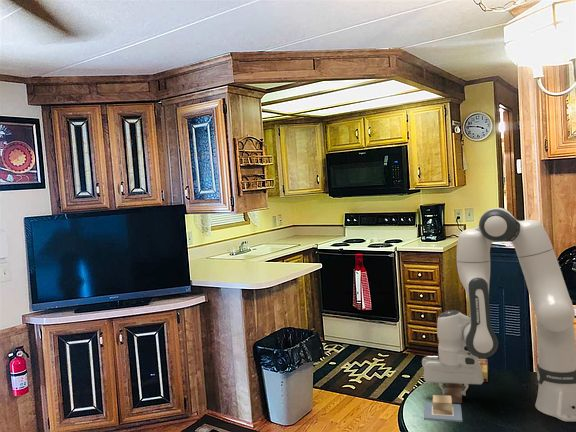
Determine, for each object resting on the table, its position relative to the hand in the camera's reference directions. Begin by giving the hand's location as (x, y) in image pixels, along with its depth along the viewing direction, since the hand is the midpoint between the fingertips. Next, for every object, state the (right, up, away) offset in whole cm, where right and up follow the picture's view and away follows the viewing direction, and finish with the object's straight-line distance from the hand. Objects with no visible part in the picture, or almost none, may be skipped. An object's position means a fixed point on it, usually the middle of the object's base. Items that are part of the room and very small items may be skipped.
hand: (454, 394), depth 174 cm
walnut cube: (0, -2, 0) cm, 2 cm away
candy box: (+13, +2, +14) cm, 19 cm away
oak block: (-7, -2, -9) cm, 12 cm away
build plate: (-7, -3, -9) cm, 12 cm away
